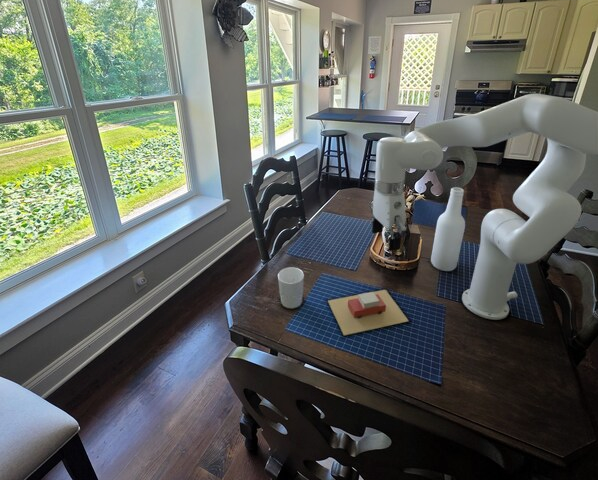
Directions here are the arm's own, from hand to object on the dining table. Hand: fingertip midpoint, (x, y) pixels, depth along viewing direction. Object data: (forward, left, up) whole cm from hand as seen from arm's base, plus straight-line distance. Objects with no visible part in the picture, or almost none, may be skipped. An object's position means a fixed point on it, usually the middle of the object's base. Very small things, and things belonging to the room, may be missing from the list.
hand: (385, 240), depth 91 cm
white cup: (+26, -8, -23) cm, 36 cm away
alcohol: (-32, -12, -23) cm, 41 cm away
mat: (+5, +2, -23) cm, 23 cm away
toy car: (+5, +2, -22) cm, 23 cm away
